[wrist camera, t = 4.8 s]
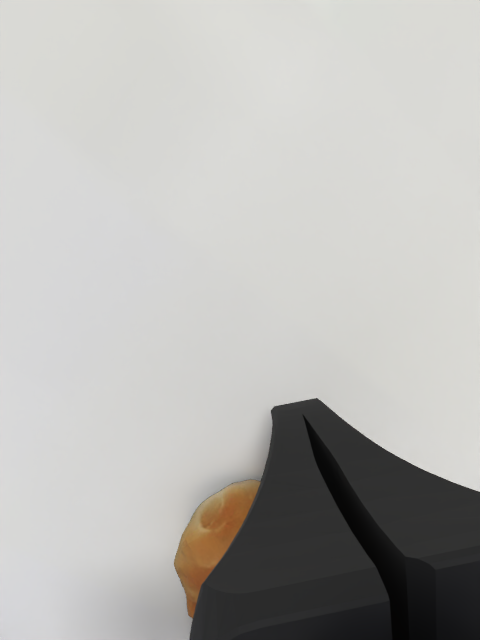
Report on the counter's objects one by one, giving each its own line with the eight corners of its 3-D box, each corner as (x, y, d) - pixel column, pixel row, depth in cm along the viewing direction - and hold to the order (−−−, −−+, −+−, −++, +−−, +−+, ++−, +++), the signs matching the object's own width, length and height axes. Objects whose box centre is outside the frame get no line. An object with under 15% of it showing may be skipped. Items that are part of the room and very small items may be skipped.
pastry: (126, 536, 15) (106, 651, 12) (286, 426, 15) (316, 515, 11) (281, 668, 19) (302, 791, 15) (421, 584, 18) (478, 693, 14)
